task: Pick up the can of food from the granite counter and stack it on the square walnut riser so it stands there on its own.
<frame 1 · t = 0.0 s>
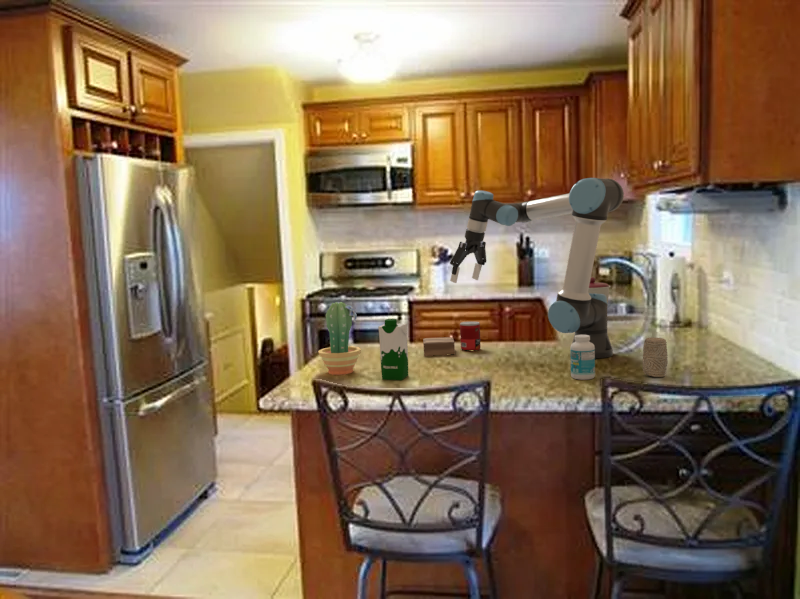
hand: (464, 280, 269), 28 cm above the countertop, tool tilted 20°, fingers open, 13 cm apart
pill bottle: (583, 378, 211), on the countertop
carving: (655, 376, 208), on the countertop
walnut riser: (438, 352, 265), on the countertop
canned food: (470, 350, 268), on the countertop
milk carton: (395, 378, 223), on the countertop
potted cactus: (340, 372, 237), on the countertop
canister: (592, 318, 340), on the countertop
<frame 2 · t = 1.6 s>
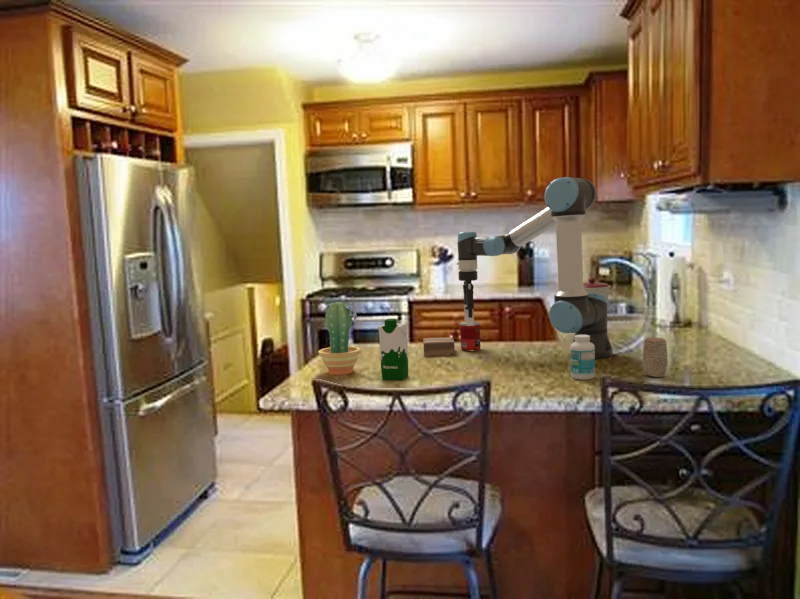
hand: (469, 323, 267), 11 cm above the countertop, tool pointing down, fingers open, 13 cm apart
nothing on the countertop moved.
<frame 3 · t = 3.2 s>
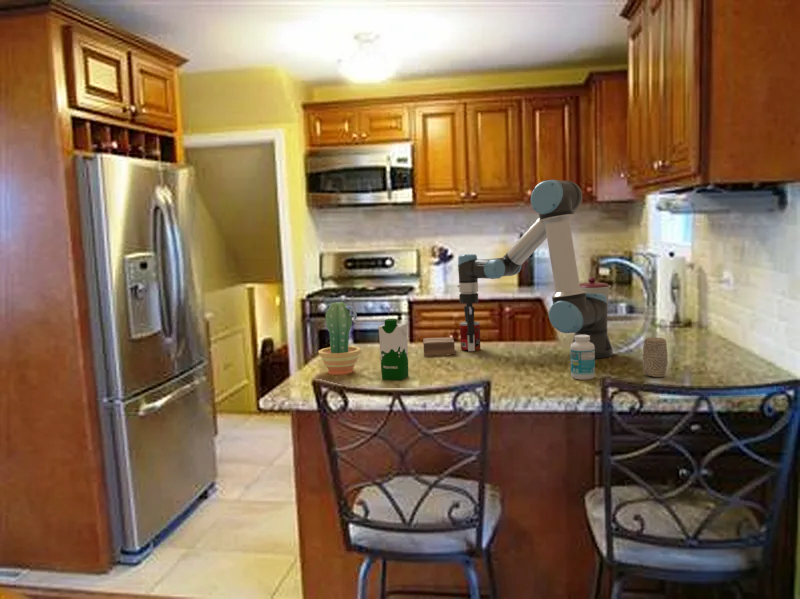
hand: (470, 348, 268), 0 cm above the countertop, tool pointing down, fingers closed on canned food, 8 cm apart
canned food: (470, 350, 268), on the countertop, touching gripper
everything else where it was.
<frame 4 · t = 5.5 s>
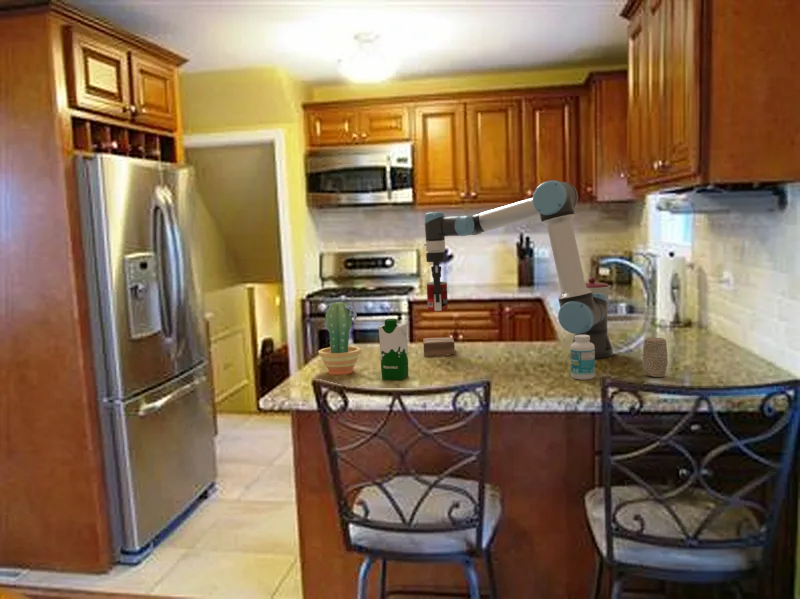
hand: (437, 309, 263), 17 cm above the countertop, tool pointing down, fingers closed on canned food, 8 cm apart
canned food: (437, 310, 263), point 17 cm above the countertop, touching gripper
everything else where it was.
when the fingers open (7 cm above the countertop, at t = 7.9 s): canned food drops 1 cm, resting on walnut riser.
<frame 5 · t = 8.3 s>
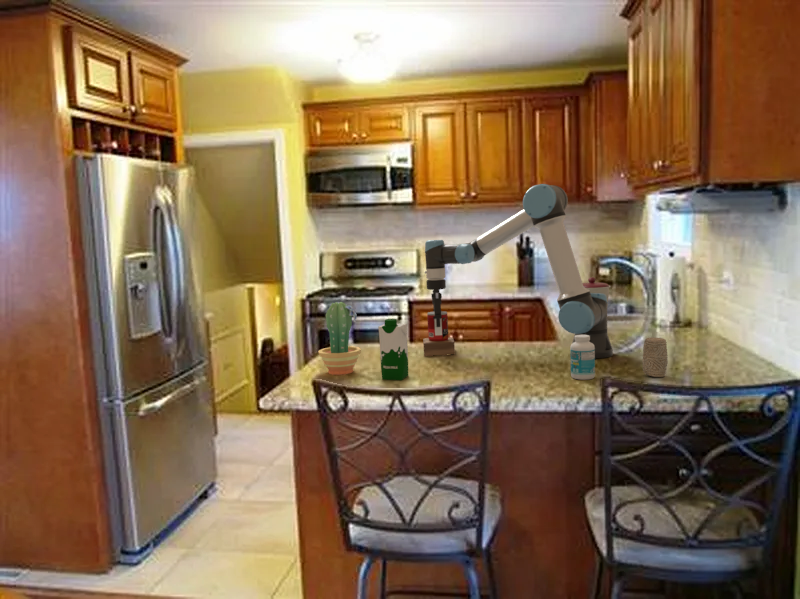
hand: (438, 332, 264), 8 cm above the countertop, tool pointing down, fingers open, 13 cm apart
canned food: (438, 340, 264), point 5 cm above the countertop, touching walnut riser
everything else where it was.
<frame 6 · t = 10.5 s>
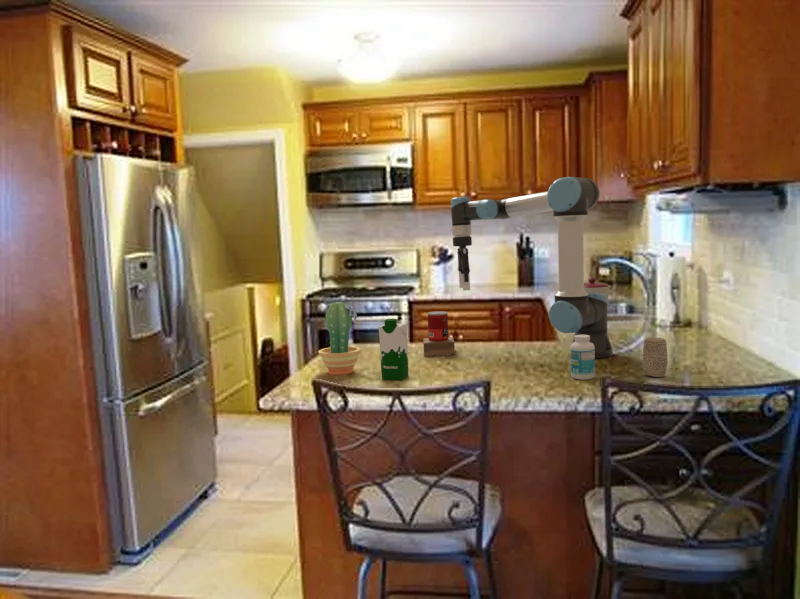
hand: (464, 289, 267), 25 cm above the countertop, tool pointing down, fingers open, 13 cm apart
nothing on the countertop moved.
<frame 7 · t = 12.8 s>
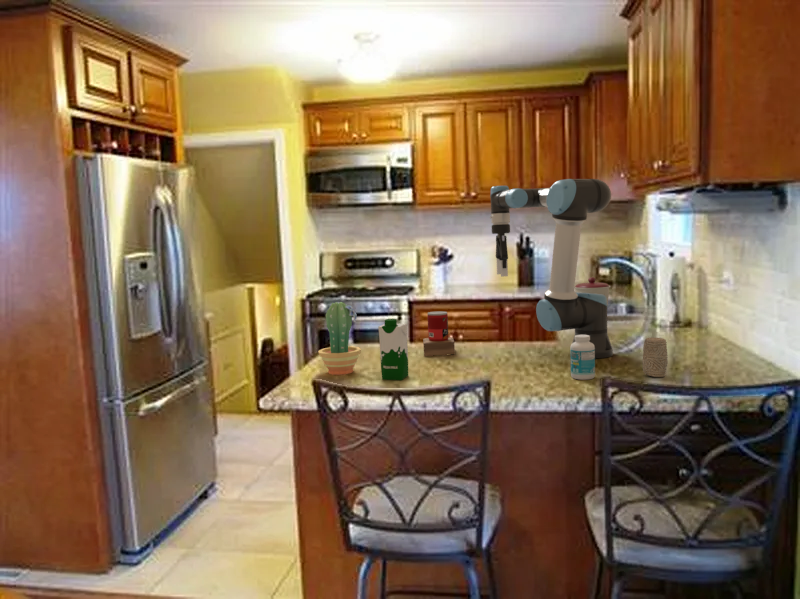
hand: (502, 275, 276), 29 cm above the countertop, tool pointing down, fingers open, 13 cm apart
nothing on the countertop moved.
at the end: canned food inside the target area on the walnut riser (0.1 cm from its centre), point 5.0 cm above the walnut riser's base; canned food tilted 0°; the gripper is holding nothing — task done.
